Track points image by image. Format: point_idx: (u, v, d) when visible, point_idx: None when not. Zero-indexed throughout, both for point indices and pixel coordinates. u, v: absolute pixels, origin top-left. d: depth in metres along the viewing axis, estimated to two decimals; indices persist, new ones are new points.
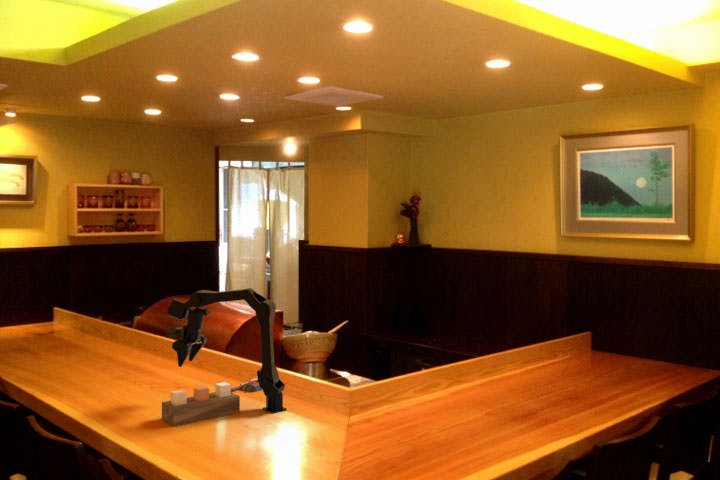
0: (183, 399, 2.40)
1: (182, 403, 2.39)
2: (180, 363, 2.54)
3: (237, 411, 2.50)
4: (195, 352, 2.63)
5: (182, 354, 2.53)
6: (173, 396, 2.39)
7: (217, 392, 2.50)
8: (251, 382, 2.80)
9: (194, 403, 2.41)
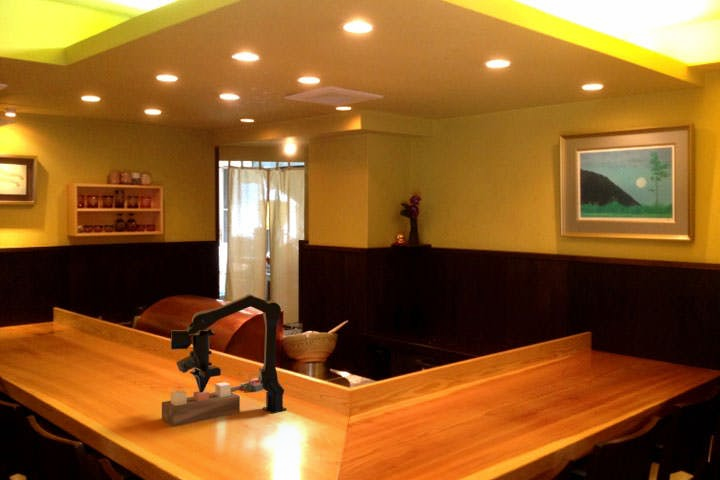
0: (183, 399, 2.40)
1: (182, 403, 2.39)
2: (203, 388, 2.45)
3: (237, 411, 2.50)
4: None
5: (204, 378, 2.45)
6: (173, 396, 2.39)
7: (217, 392, 2.50)
8: (251, 382, 2.80)
9: (194, 403, 2.41)
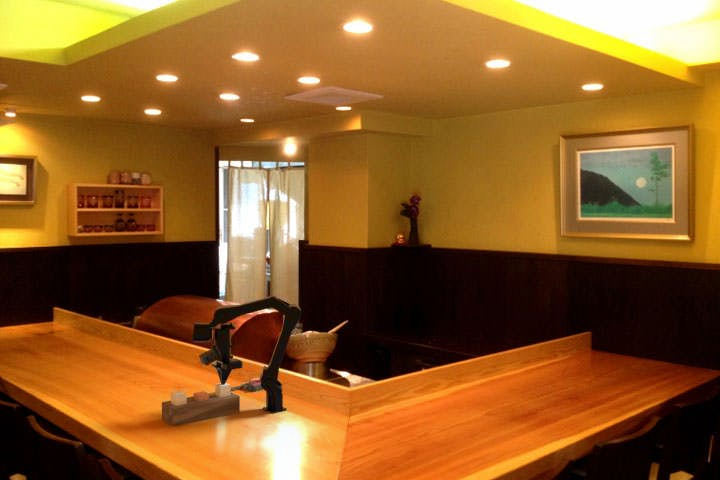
0: (183, 399, 2.40)
1: (182, 403, 2.39)
2: (224, 380, 2.51)
3: (237, 411, 2.50)
4: None
5: (225, 371, 2.50)
6: (173, 396, 2.39)
7: (217, 392, 2.50)
8: (251, 382, 2.80)
9: (194, 403, 2.41)
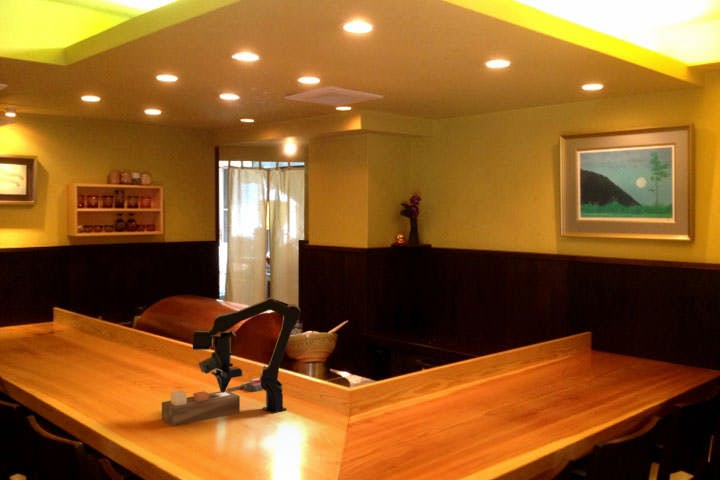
0: (183, 399, 2.40)
1: (182, 403, 2.39)
2: (224, 388, 2.51)
3: (237, 411, 2.50)
4: None
5: (225, 379, 2.50)
6: (173, 396, 2.39)
7: None
8: (252, 382, 2.80)
9: (194, 403, 2.41)
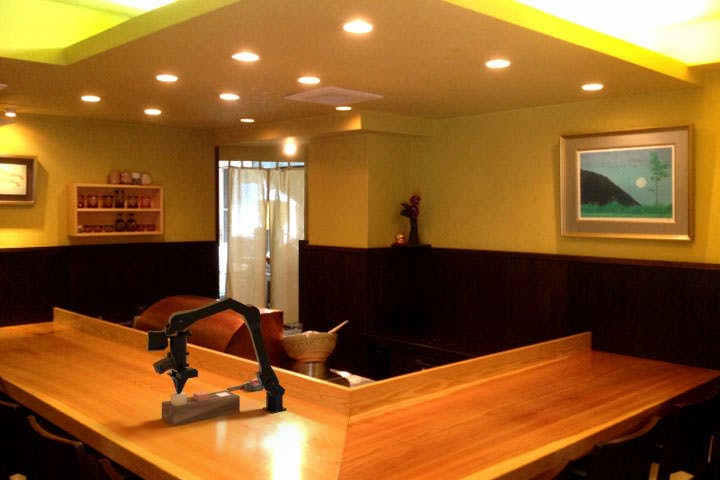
0: (183, 401, 2.40)
1: None
2: (180, 390, 2.40)
3: (237, 411, 2.50)
4: None
5: (181, 380, 2.39)
6: (173, 398, 2.39)
7: None
8: (252, 382, 2.80)
9: (194, 403, 2.41)
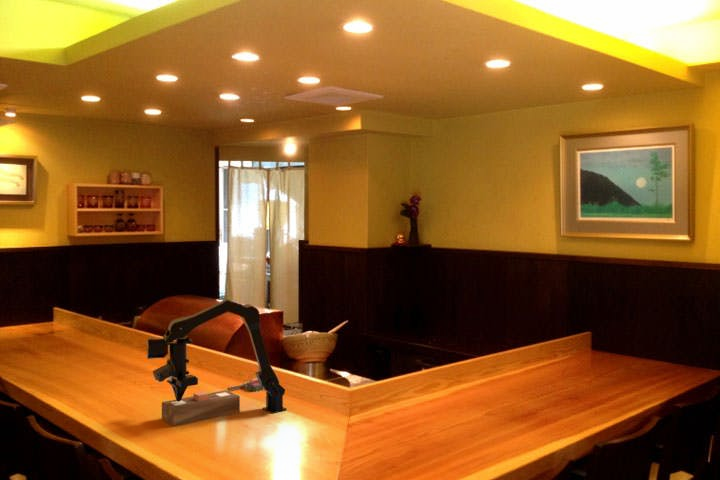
0: None
1: None
2: (180, 397, 2.40)
3: (237, 411, 2.50)
4: None
5: (181, 387, 2.40)
6: None
7: None
8: (252, 382, 2.80)
9: (194, 403, 2.41)
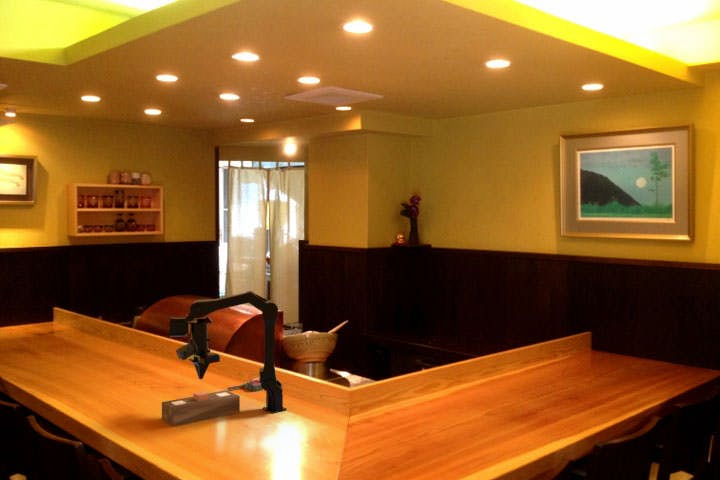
0: None
1: None
2: (202, 375, 2.49)
3: (237, 411, 2.50)
4: None
5: (203, 365, 2.49)
6: None
7: None
8: (252, 381, 2.81)
9: (194, 403, 2.41)
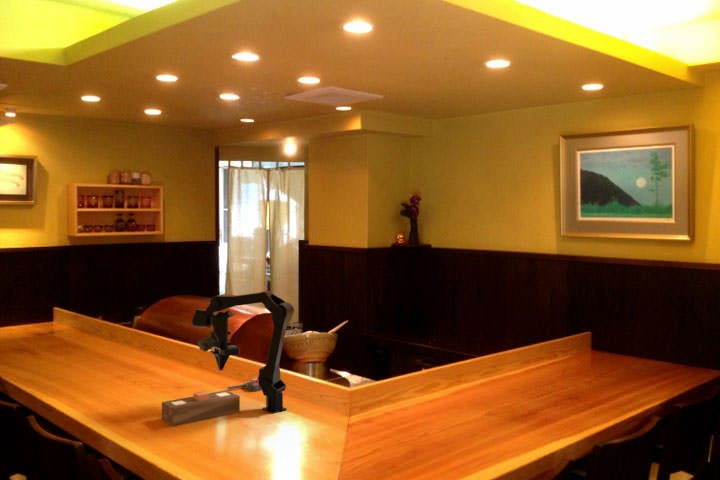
0: None
1: None
2: (222, 366, 2.59)
3: (237, 411, 2.50)
4: None
5: (223, 357, 2.58)
6: None
7: None
8: (252, 381, 2.81)
9: (194, 403, 2.41)
